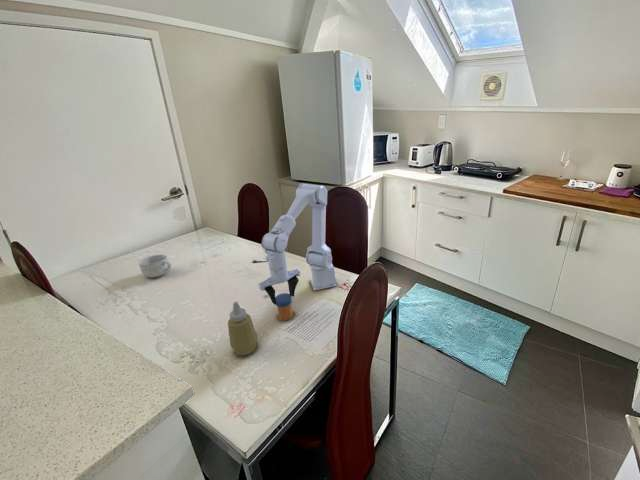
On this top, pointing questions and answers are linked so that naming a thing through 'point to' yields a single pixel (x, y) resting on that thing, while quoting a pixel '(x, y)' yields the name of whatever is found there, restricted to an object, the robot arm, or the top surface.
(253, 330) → the squeeze bottle
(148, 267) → the teacup
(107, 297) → the top surface
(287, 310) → the jar
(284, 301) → the lid
